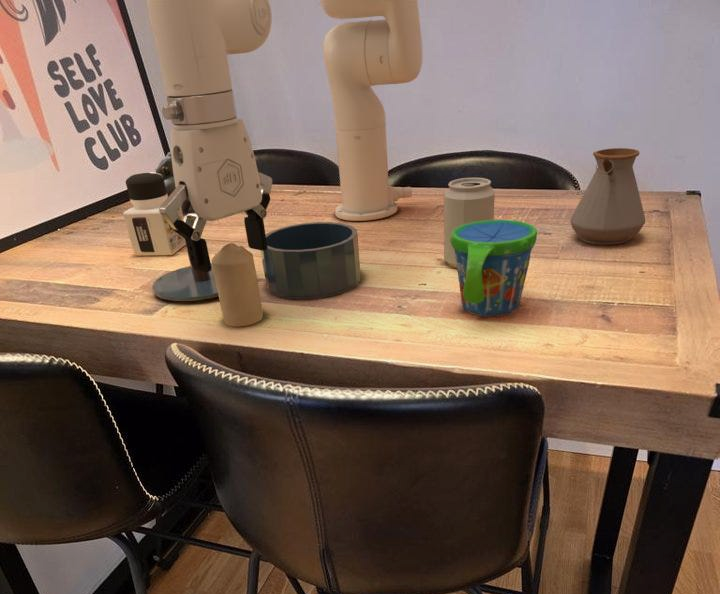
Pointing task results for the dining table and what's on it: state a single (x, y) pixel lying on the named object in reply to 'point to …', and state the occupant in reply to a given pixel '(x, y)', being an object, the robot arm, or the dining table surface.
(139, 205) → the container
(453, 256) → the can
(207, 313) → the dining table surface
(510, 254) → the snack cup
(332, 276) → the bowl
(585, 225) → the coffee pot
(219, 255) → the candle
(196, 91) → the robot arm
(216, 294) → the lid
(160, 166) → the grey lumpy figure
